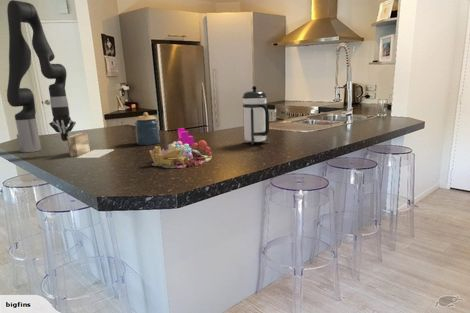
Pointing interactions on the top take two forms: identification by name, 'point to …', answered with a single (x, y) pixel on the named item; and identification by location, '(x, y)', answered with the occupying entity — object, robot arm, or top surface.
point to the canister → (147, 130)
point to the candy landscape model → (180, 155)
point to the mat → (95, 153)
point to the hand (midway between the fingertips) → (65, 140)
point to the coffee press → (255, 116)
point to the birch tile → (78, 144)
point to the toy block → (185, 137)
